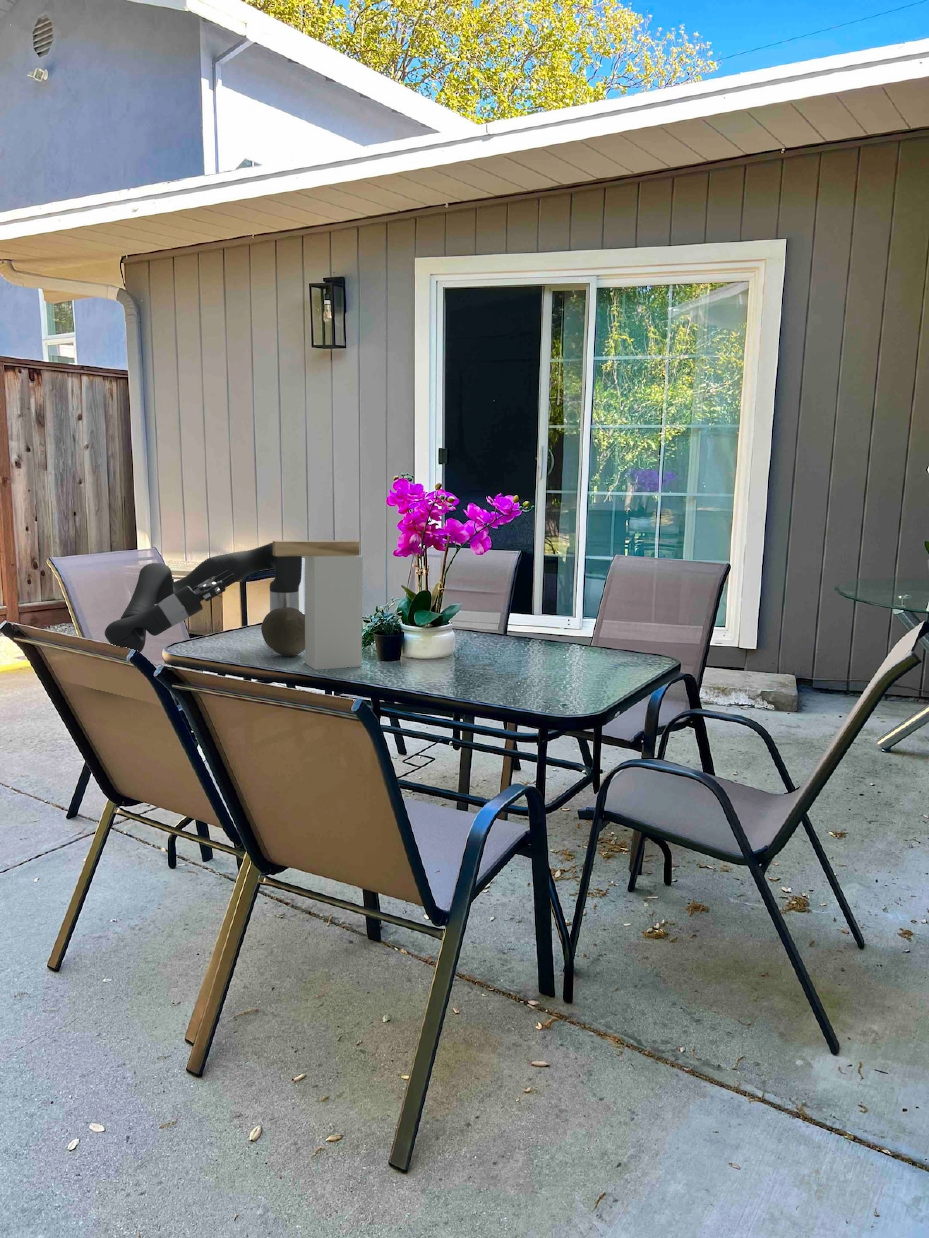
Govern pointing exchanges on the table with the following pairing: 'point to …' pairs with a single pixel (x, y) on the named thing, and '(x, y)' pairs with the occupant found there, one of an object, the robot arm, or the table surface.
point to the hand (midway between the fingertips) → (233, 574)
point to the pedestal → (333, 611)
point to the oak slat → (315, 548)
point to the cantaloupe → (284, 631)
